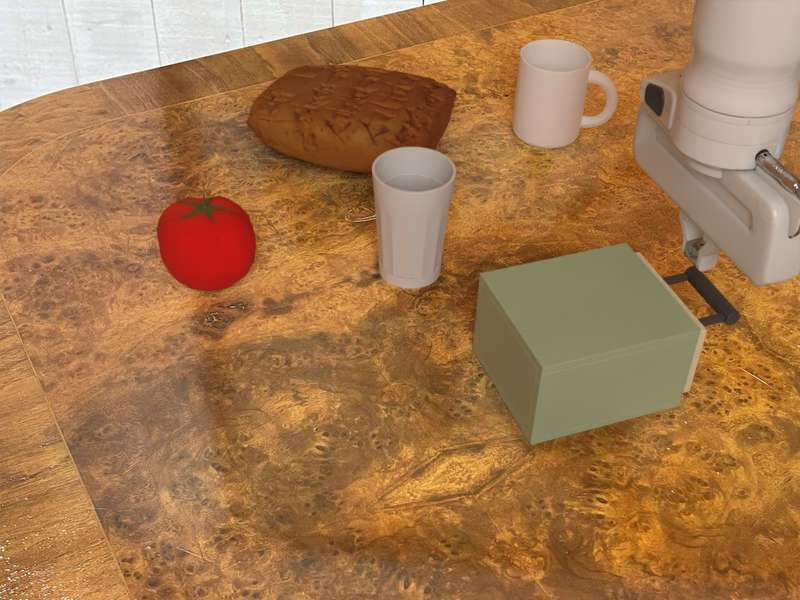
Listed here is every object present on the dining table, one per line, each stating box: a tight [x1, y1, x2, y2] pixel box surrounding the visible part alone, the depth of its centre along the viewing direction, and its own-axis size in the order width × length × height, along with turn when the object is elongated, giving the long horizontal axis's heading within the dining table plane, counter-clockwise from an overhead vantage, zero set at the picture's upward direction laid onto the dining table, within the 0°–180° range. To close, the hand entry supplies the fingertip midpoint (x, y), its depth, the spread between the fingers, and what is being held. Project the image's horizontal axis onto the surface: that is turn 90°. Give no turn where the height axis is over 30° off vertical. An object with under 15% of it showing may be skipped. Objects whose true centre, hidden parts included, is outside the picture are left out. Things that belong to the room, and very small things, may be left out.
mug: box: [511, 38, 619, 150], centre depth 126 cm, size 12×8×10 cm
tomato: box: [156, 195, 257, 292], centre depth 104 cm, size 9×10×8 cm
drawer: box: [635, 251, 741, 394], centre depth 95 cm, size 19×11×7 cm, turn 110°
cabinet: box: [471, 242, 701, 446], centre depth 94 cm, size 15×13×9 cm
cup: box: [371, 147, 457, 290], centre depth 104 cm, size 8×8×12 cm
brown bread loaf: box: [246, 64, 458, 174], centre depth 122 cm, size 22×17×8 cm
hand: (697, 260), depth 93 cm, fingers closed
